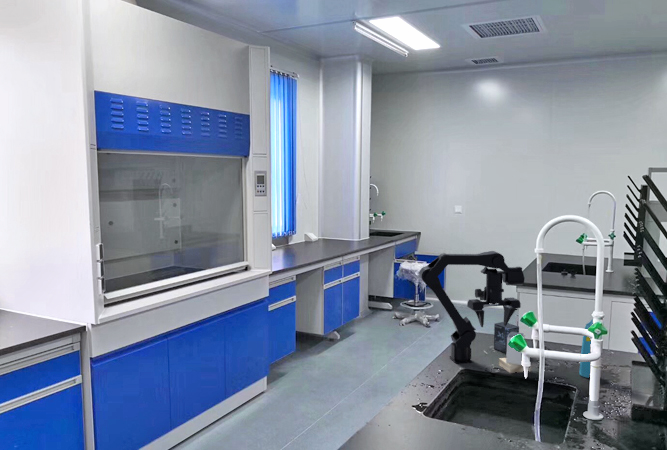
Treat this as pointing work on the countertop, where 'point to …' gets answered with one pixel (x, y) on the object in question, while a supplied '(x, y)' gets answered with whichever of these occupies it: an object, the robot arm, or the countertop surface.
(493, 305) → the robot arm
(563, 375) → the countertop surface
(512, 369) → the block
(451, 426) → the countertop surface
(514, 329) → the box
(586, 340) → the blue plastic bottle
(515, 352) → the carton
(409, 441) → the countertop surface
